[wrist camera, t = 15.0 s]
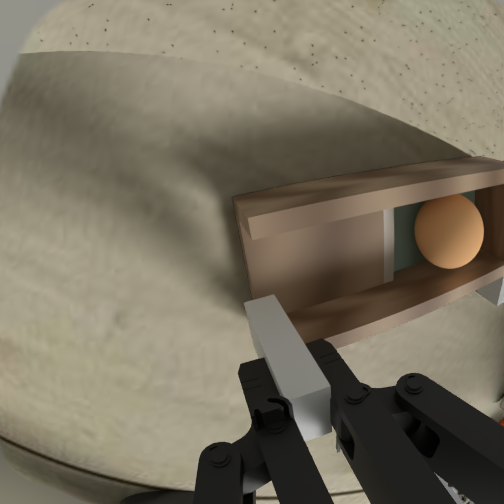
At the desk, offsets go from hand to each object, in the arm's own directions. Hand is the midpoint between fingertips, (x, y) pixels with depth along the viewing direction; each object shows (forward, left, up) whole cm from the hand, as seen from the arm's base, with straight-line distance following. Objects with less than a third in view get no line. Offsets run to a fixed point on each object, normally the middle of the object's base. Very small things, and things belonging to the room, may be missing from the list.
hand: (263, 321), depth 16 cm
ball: (+13, +1, -2) cm, 14 cm away
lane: (+10, +1, -4) cm, 11 cm away
